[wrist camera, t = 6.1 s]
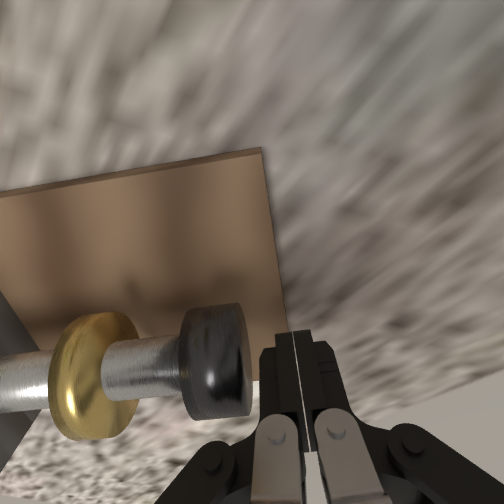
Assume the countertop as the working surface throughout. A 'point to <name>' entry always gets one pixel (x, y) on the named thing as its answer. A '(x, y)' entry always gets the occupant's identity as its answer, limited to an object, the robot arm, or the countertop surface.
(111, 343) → the shaft
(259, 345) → the bearing block
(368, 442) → the robot arm
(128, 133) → the countertop surface
